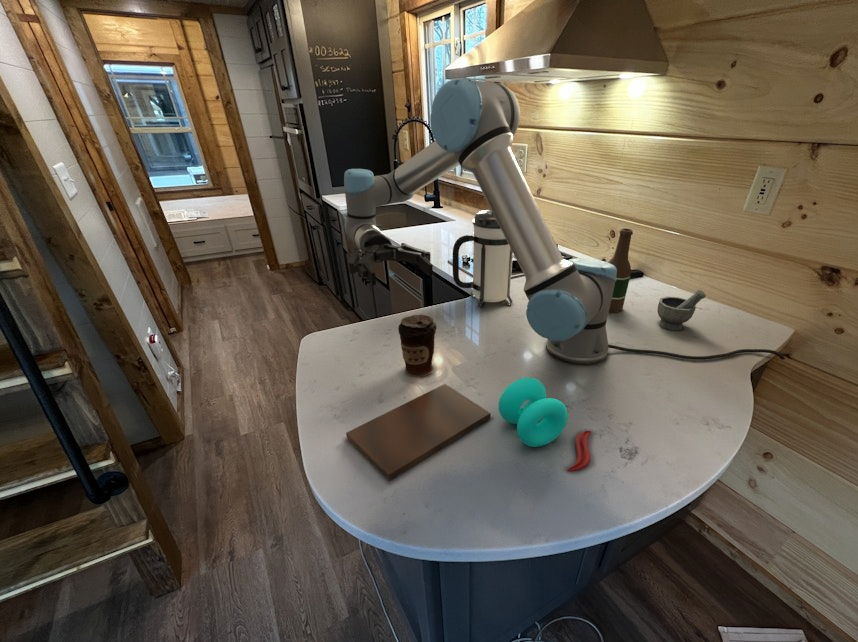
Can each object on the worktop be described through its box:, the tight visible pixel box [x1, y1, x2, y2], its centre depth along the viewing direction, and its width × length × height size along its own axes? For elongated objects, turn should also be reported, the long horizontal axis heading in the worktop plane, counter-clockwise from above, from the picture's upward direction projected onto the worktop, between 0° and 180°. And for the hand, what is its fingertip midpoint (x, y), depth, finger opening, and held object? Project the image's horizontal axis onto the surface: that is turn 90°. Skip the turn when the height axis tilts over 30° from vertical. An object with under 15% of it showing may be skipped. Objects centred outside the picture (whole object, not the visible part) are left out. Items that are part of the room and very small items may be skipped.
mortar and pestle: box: [657, 289, 707, 331], centre depth 114 cm, size 11×9×12 cm
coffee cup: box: [398, 314, 437, 377], centre depth 92 cm, size 9×8×13 cm
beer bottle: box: [607, 228, 634, 314], centre depth 121 cm, size 8×8×24 cm
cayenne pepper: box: [566, 430, 592, 472], centre depth 73 cm, size 12×5×2 cm, turn 142°
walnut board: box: [345, 383, 491, 481], centre depth 77 cm, size 24×14×2 cm, turn 133°
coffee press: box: [452, 209, 514, 309], centre depth 123 cm, size 17×16×30 cm
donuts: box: [498, 377, 569, 448], centre depth 75 cm, size 10×10×10 cm
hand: (403, 274), depth 91 cm, fingers open, 13 cm apart
